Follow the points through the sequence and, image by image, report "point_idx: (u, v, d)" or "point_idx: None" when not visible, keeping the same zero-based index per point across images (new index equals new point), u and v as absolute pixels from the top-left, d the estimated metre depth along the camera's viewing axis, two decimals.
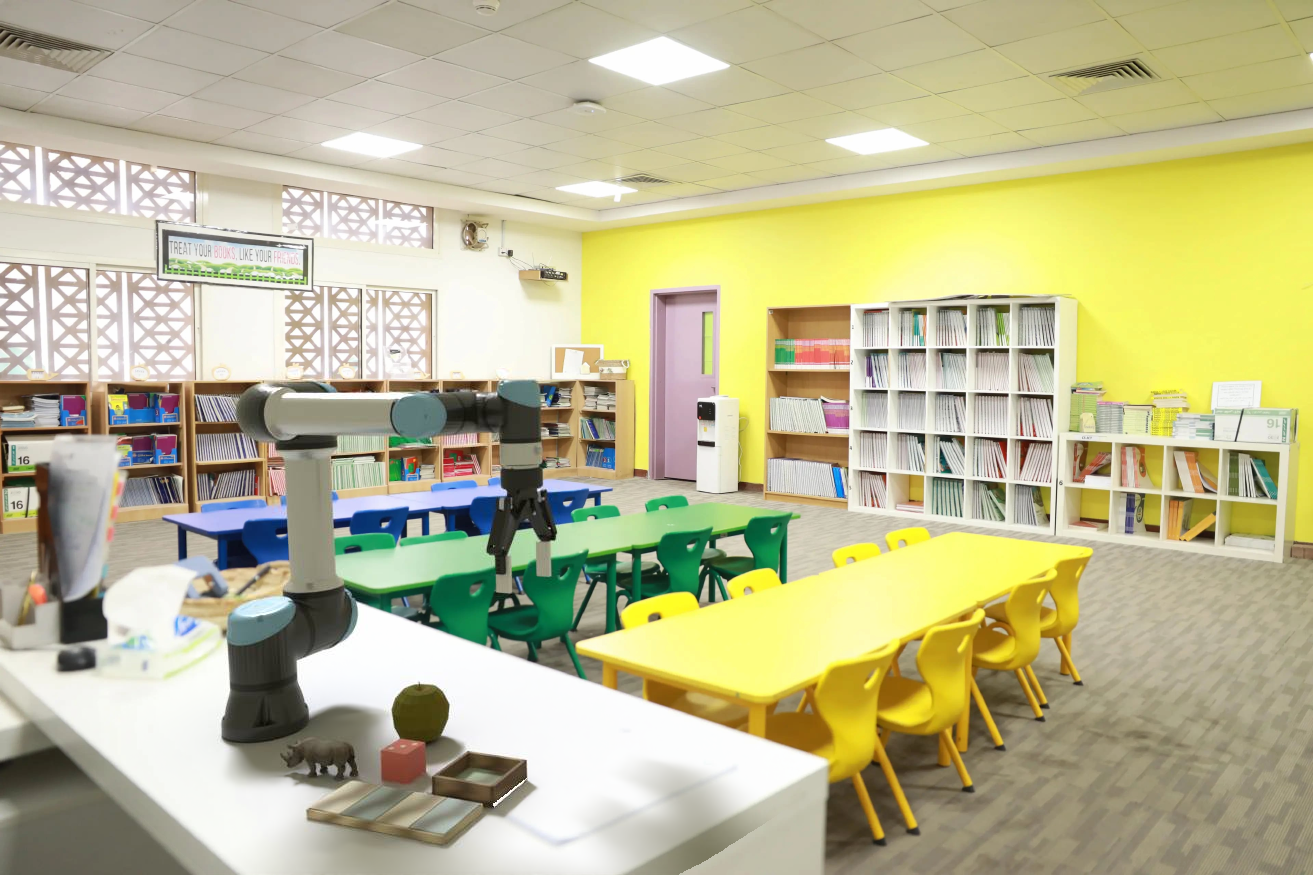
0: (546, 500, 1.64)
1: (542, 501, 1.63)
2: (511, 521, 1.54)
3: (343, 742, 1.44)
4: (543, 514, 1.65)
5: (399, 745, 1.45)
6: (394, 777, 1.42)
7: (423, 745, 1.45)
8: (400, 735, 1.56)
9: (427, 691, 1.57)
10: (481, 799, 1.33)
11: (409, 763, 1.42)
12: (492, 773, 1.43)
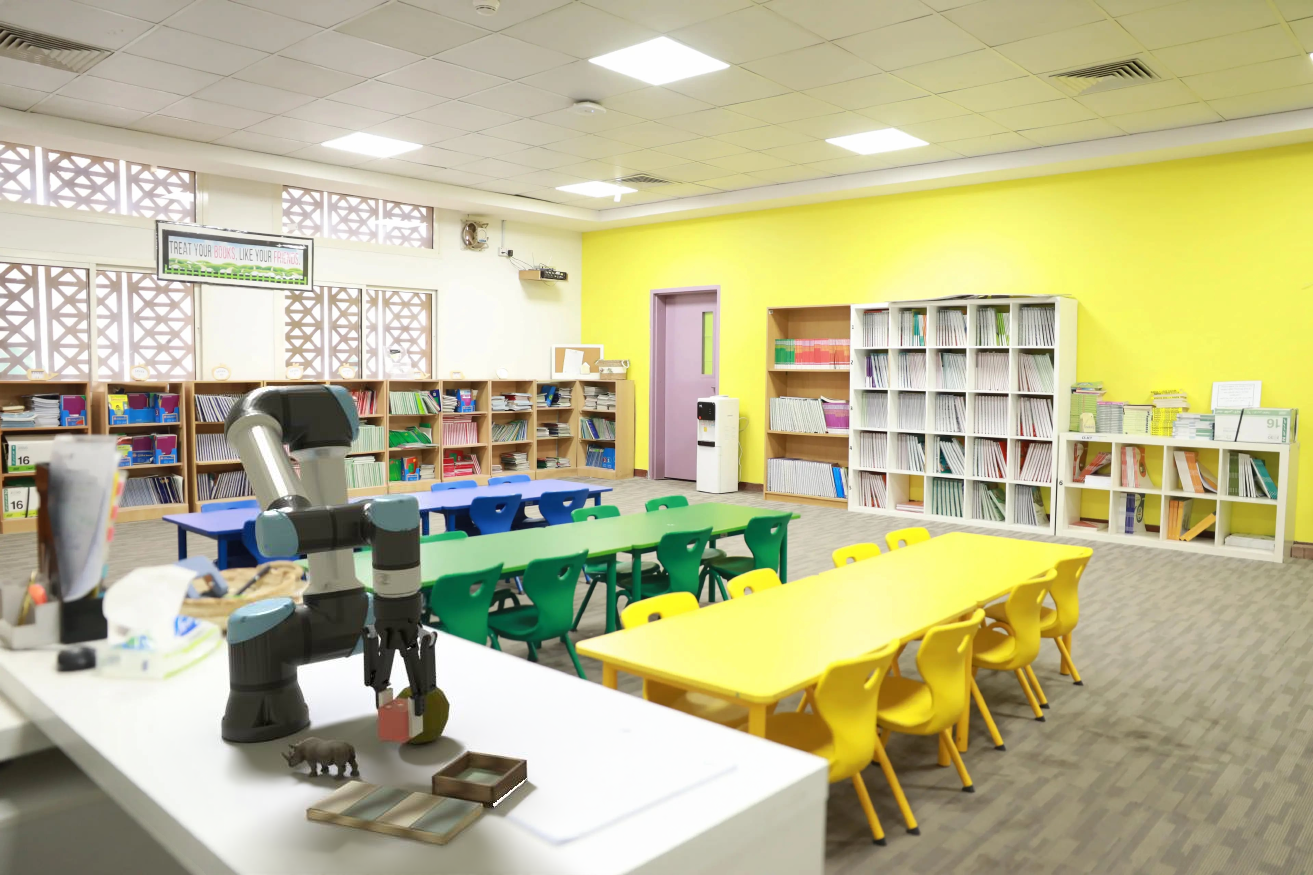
0: (423, 647, 1.40)
1: None
2: None
3: (343, 742, 1.44)
4: None
5: (396, 703, 1.45)
6: (391, 735, 1.42)
7: None
8: None
9: None
10: (481, 799, 1.33)
11: (406, 721, 1.42)
12: (492, 773, 1.43)
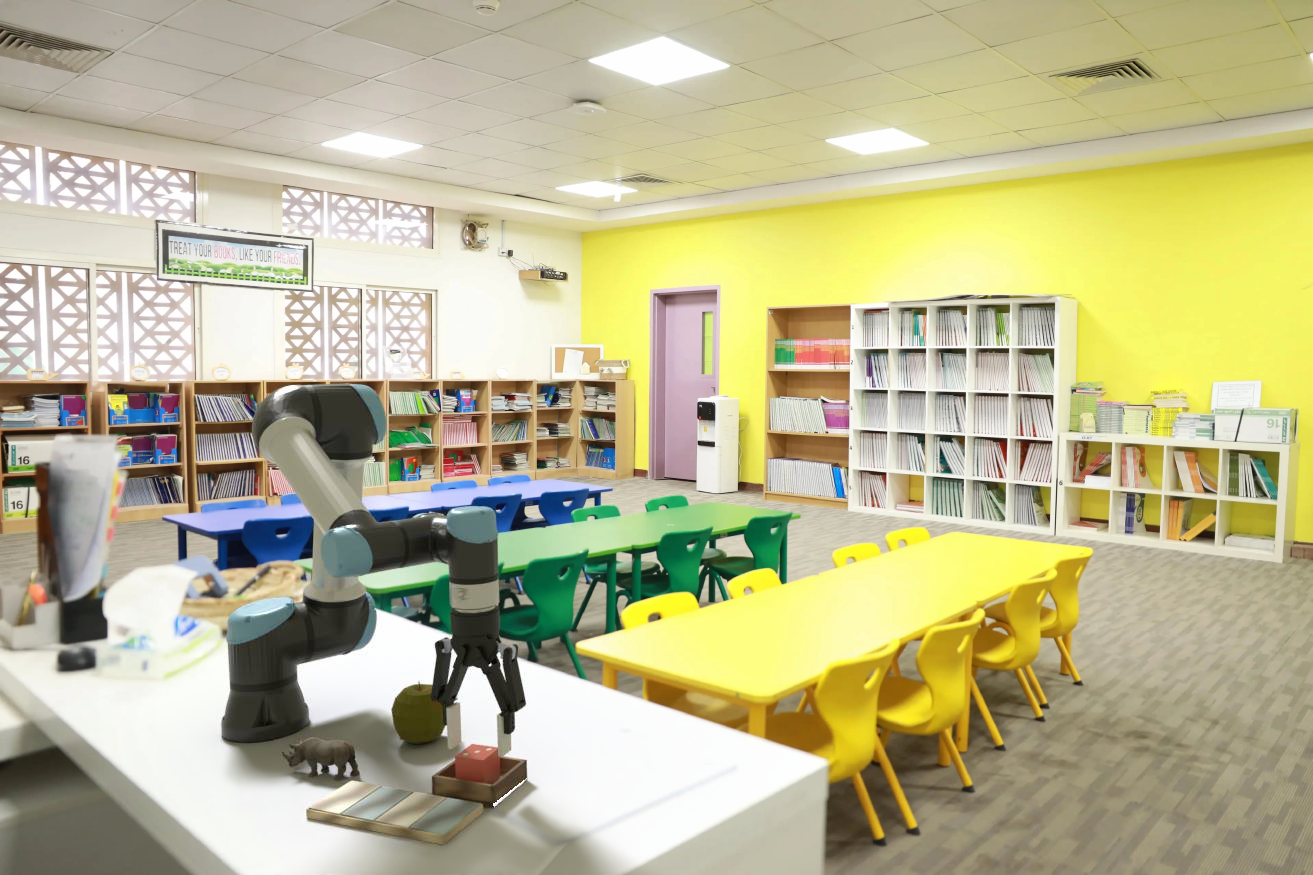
0: (506, 662, 1.35)
1: None
2: None
3: (344, 742, 1.44)
4: None
5: (472, 750, 1.39)
6: None
7: (497, 750, 1.40)
8: (400, 735, 1.56)
9: (427, 691, 1.57)
10: (481, 799, 1.33)
11: (485, 769, 1.36)
12: None
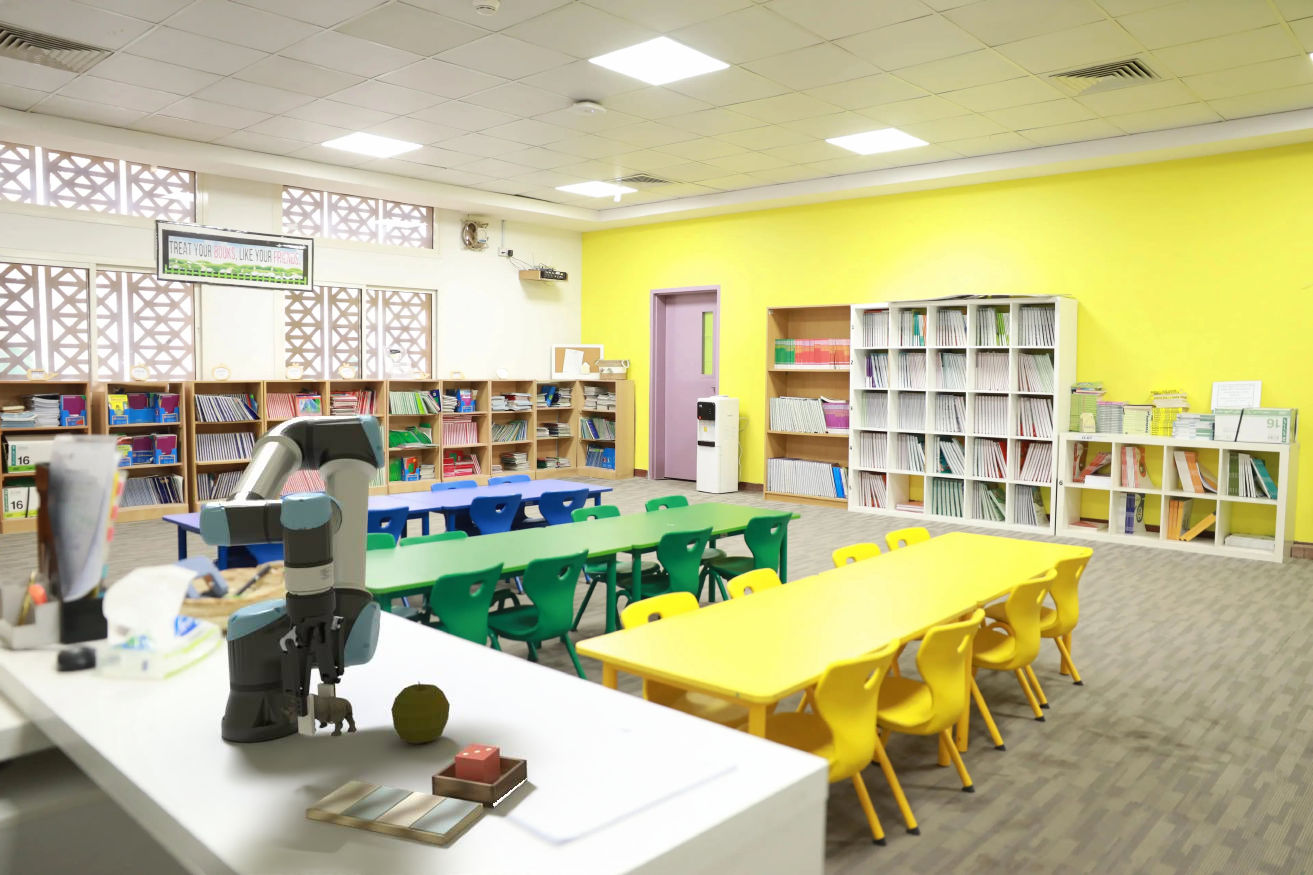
0: (341, 630, 1.49)
1: (336, 629, 1.49)
2: (303, 656, 1.42)
3: (340, 699, 1.44)
4: (334, 646, 1.49)
5: (472, 750, 1.39)
6: None
7: (497, 750, 1.40)
8: (400, 735, 1.56)
9: (427, 691, 1.57)
10: (481, 799, 1.33)
11: (485, 769, 1.36)
12: None
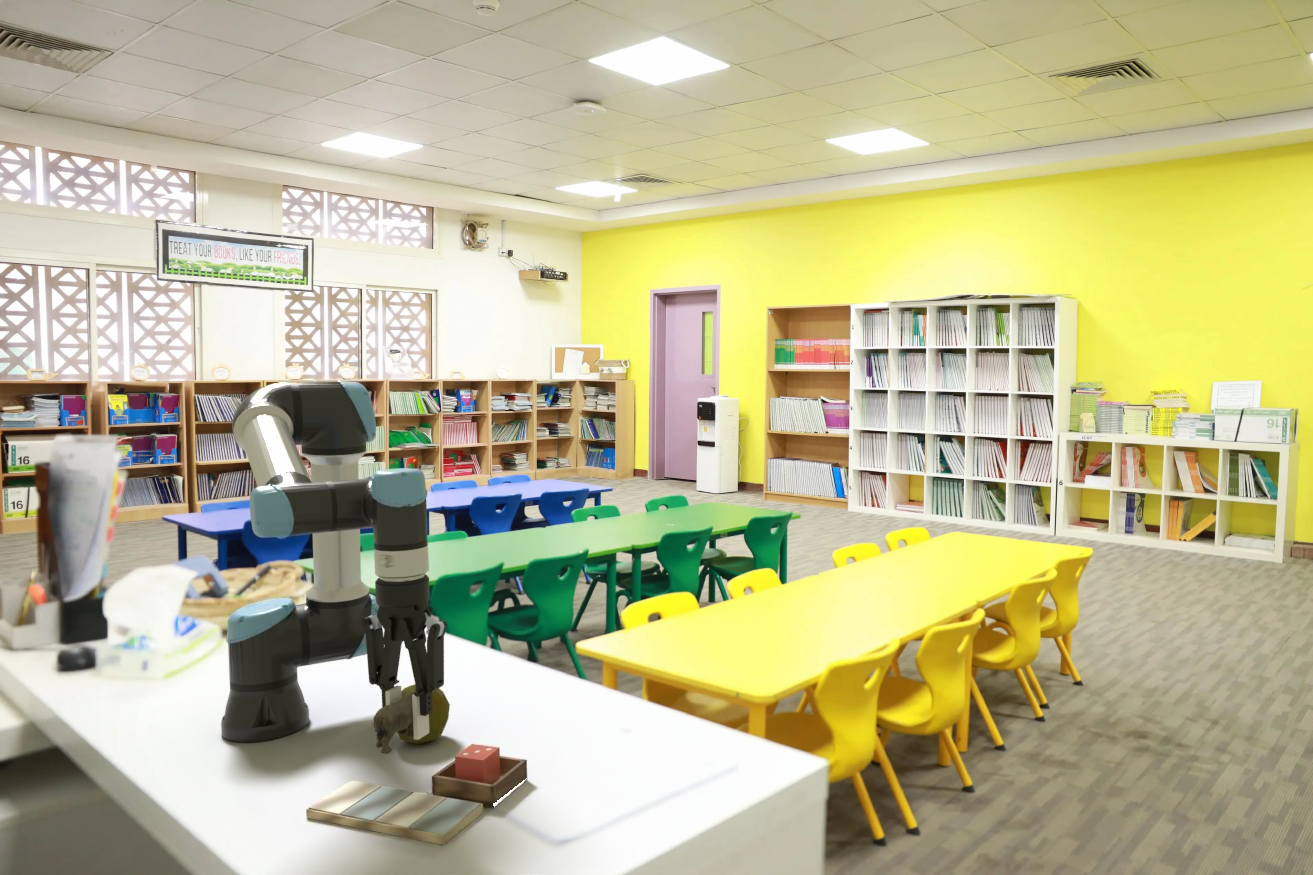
0: (431, 638, 1.25)
1: None
2: None
3: (384, 708, 1.24)
4: None
5: (472, 750, 1.39)
6: None
7: (497, 750, 1.40)
8: (400, 735, 1.56)
9: None
10: (481, 799, 1.33)
11: (485, 769, 1.36)
12: None
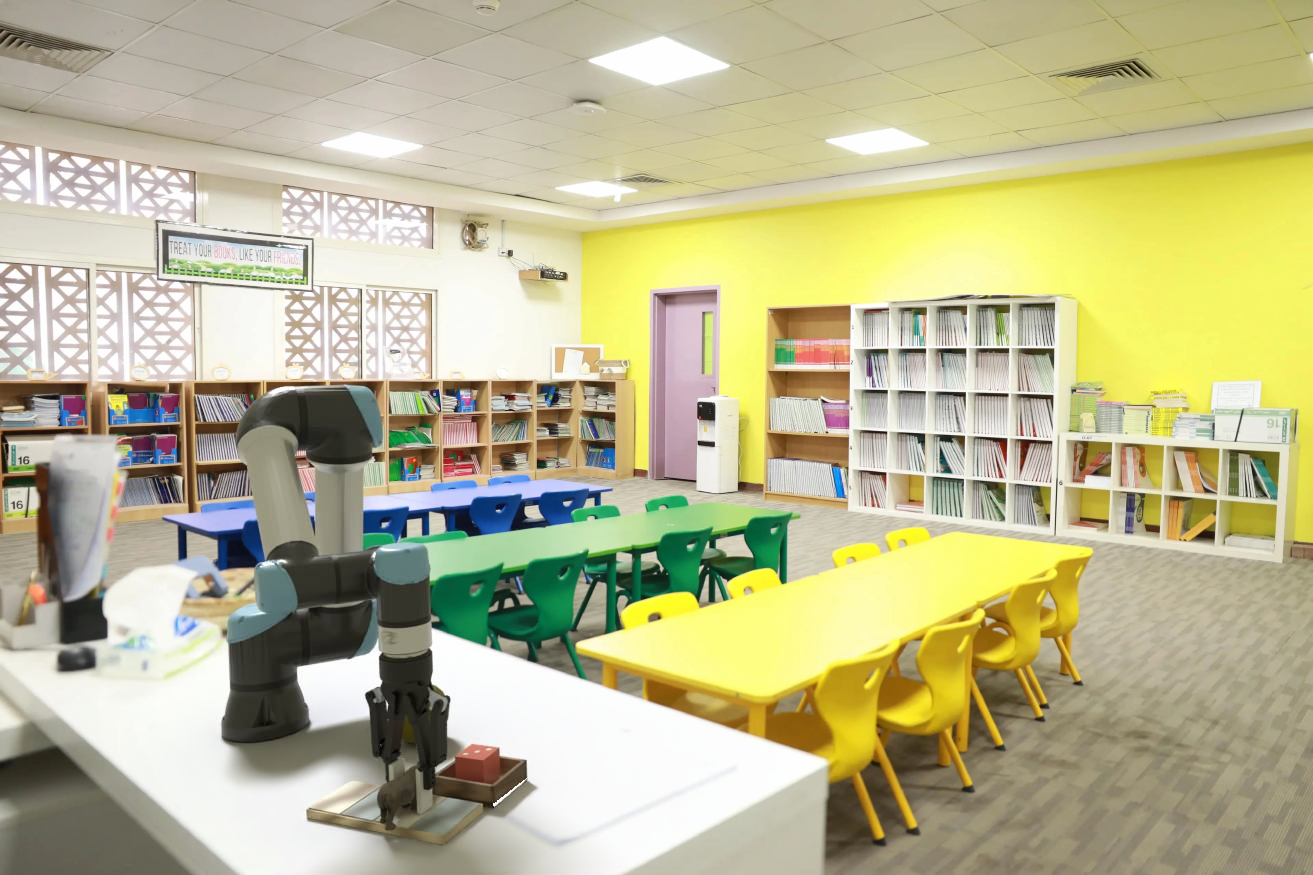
0: (434, 714, 1.26)
1: None
2: None
3: (387, 784, 1.25)
4: None
5: (472, 750, 1.39)
6: None
7: (497, 750, 1.40)
8: None
9: None
10: (481, 799, 1.33)
11: (485, 769, 1.36)
12: None
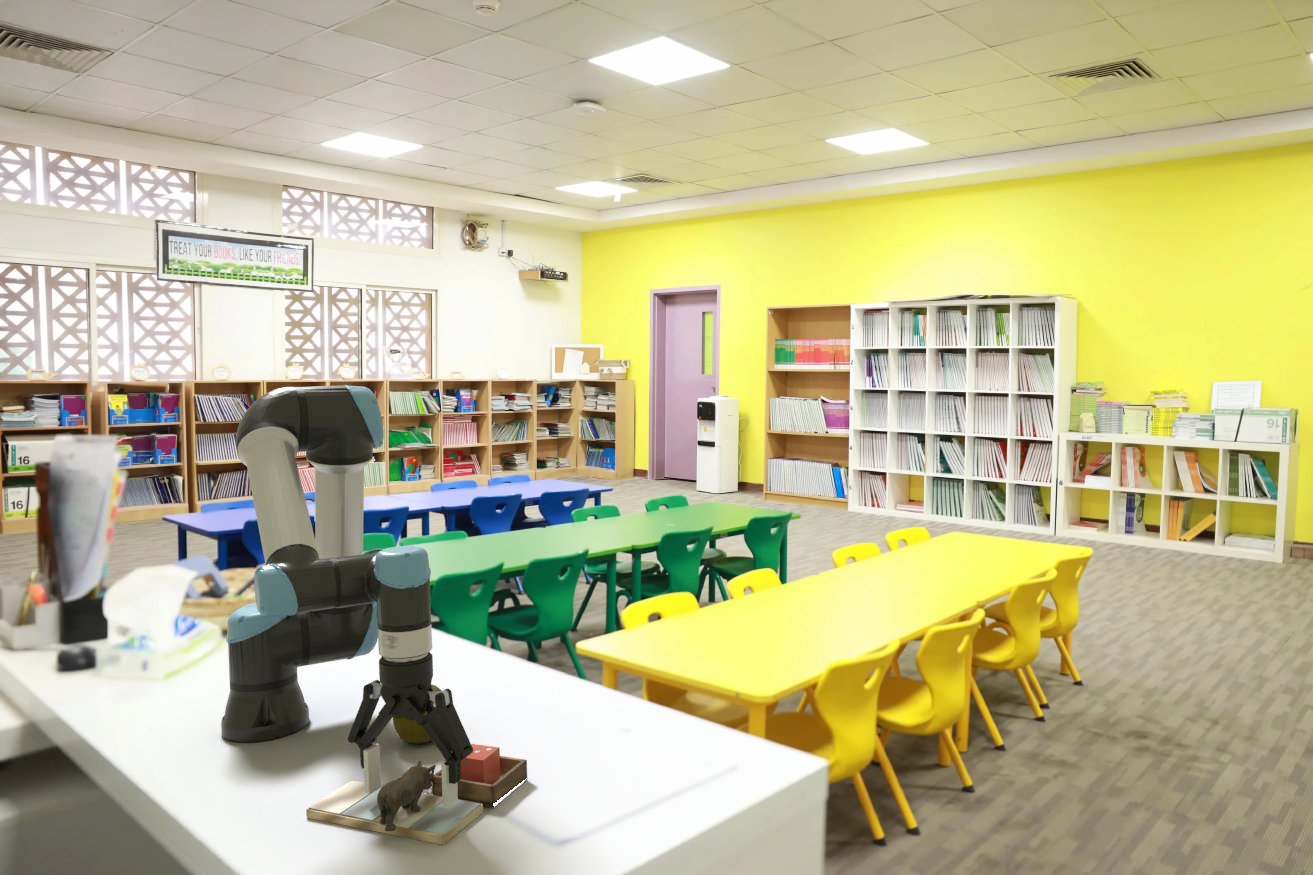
0: (440, 708, 1.26)
1: None
2: None
3: (387, 785, 1.25)
4: None
5: None
6: None
7: (497, 750, 1.40)
8: (400, 735, 1.56)
9: None
10: (481, 799, 1.33)
11: (485, 769, 1.36)
12: None
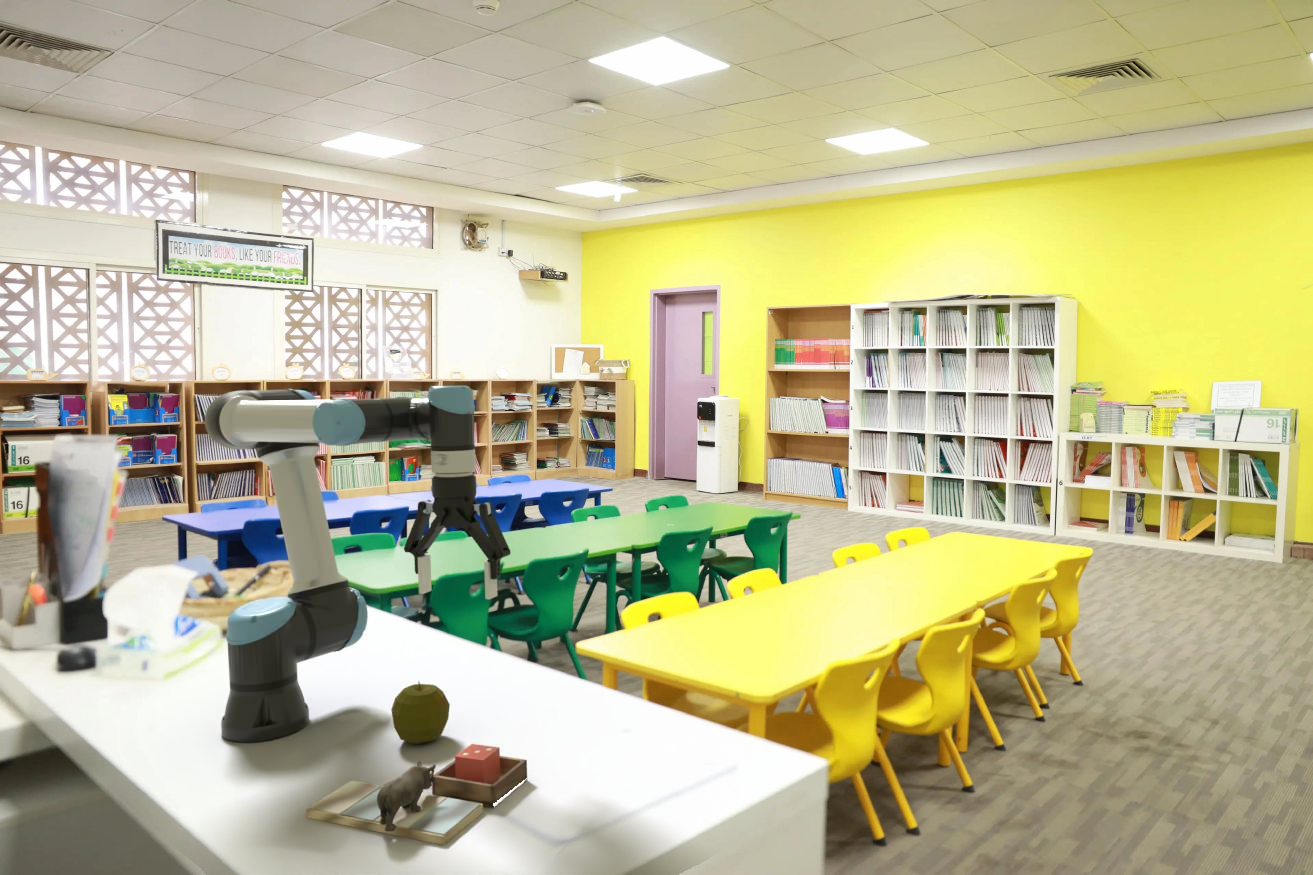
0: (483, 516, 1.51)
1: None
2: None
3: (387, 785, 1.25)
4: None
5: (472, 750, 1.39)
6: None
7: (497, 750, 1.40)
8: (400, 735, 1.56)
9: (427, 691, 1.57)
10: (481, 799, 1.33)
11: (485, 769, 1.36)
12: None
